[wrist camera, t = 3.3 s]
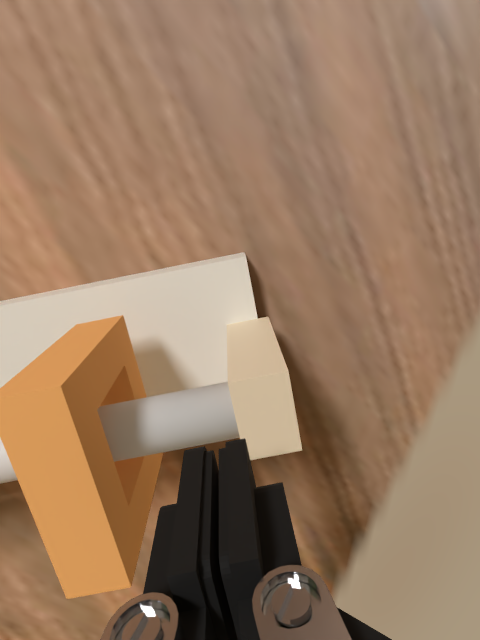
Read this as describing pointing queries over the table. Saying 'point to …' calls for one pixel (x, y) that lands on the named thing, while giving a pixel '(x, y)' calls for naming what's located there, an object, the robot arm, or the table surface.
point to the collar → (80, 456)
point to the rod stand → (172, 358)
